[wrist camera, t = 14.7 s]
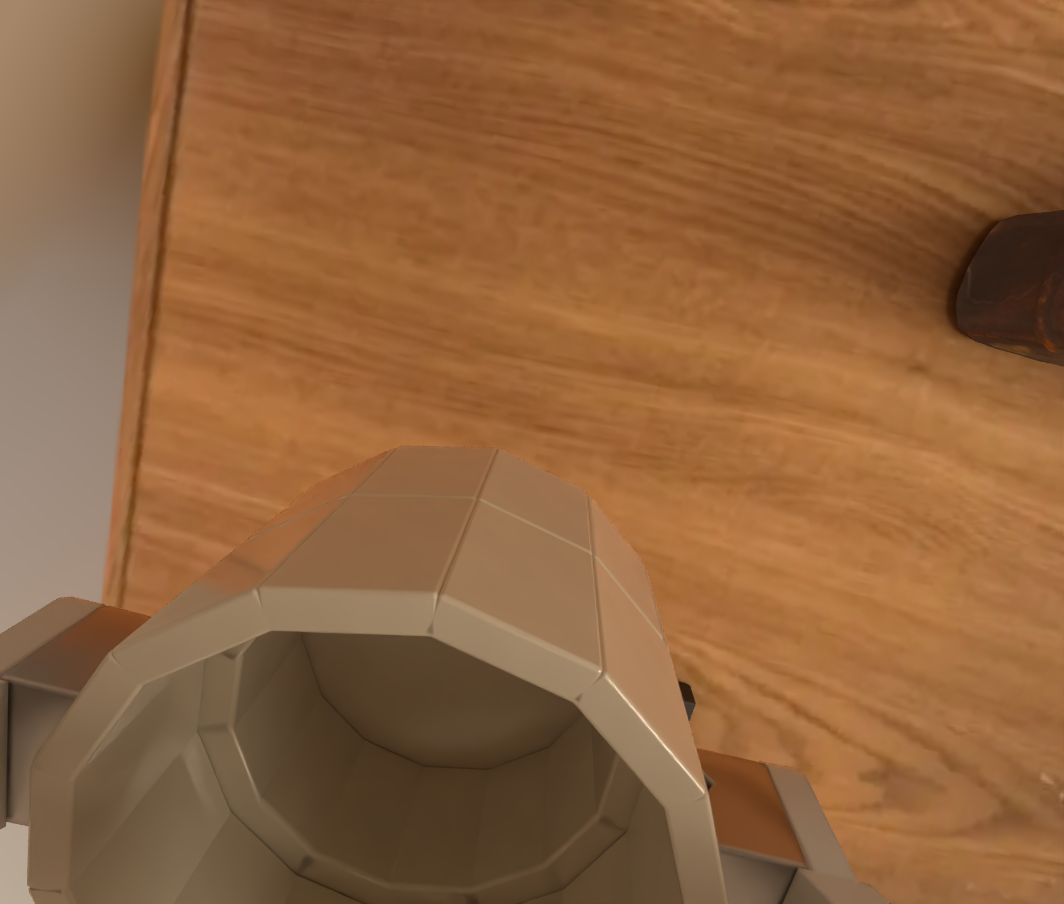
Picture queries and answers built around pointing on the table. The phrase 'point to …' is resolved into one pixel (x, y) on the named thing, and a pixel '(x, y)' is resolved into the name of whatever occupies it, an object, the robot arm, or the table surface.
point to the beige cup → (389, 713)
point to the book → (1018, 288)
